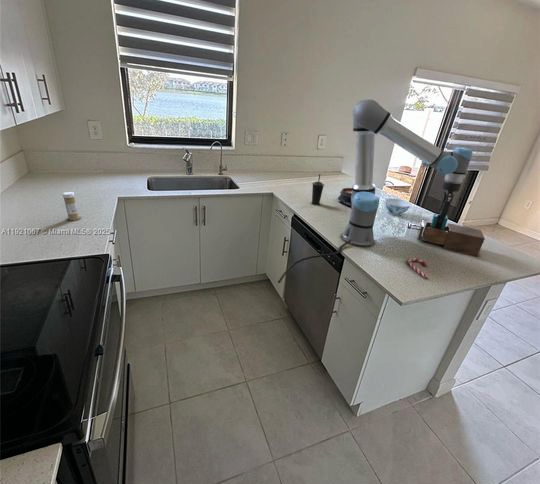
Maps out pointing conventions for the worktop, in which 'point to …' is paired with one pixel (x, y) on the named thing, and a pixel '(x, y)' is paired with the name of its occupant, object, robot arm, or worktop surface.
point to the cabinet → (464, 239)
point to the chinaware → (396, 206)
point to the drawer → (431, 233)
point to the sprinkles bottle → (70, 205)
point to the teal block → (436, 221)
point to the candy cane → (415, 267)
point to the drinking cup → (317, 192)
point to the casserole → (346, 196)
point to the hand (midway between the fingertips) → (437, 226)
